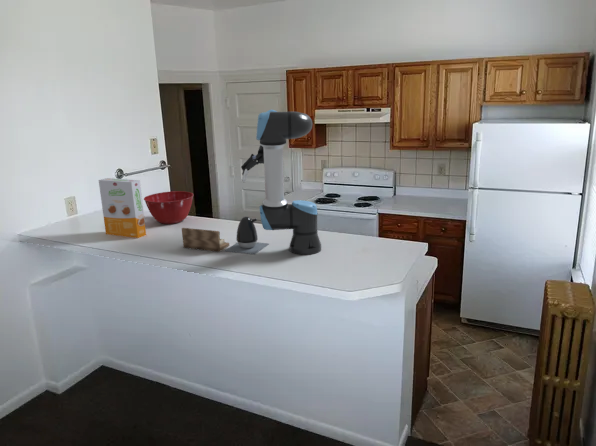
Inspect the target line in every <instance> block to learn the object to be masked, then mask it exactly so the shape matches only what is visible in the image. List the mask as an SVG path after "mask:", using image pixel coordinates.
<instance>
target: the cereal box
mask: <svg viewBox="0 0 596 446" xmlns="http://www.w3.org/2000/svg"><path fill="white" fill-rule="evenodd" d="M141 185H142V184H141V179H127V178H126V179H125V178H113V177H112V178H111V177H107V178H102V179H101V178H100V179H98V187H99V193H100V200H101V207H102V215H103V221H104V229H105V235H110V236H117V237H125V238H132V239H133V238H134V239H140V238H142V237H145V236H147V232H146V231H147V230H146V229H147V228H146V222H145V212H144V206H143V205H144V204H143V196H142V187H141Z"/></svg>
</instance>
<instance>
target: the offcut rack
mask: <svg viewBox="0 0 596 446" xmlns="http://www.w3.org/2000/svg"><path fill="white" fill-rule="evenodd" d="M181 236H182V246H183V249H189V248H191V250H197V249H199V250H200V251H205V252H206V251H207V252H215V253H216V252H217V253H220V252H222V251H223V250H226V249H227V248H229V247H230V242H226V241H225V240H226V239H225V238H220V237H221V232H220V231H219V230H211V229H199V228H190V227H182V228H181Z"/></svg>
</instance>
